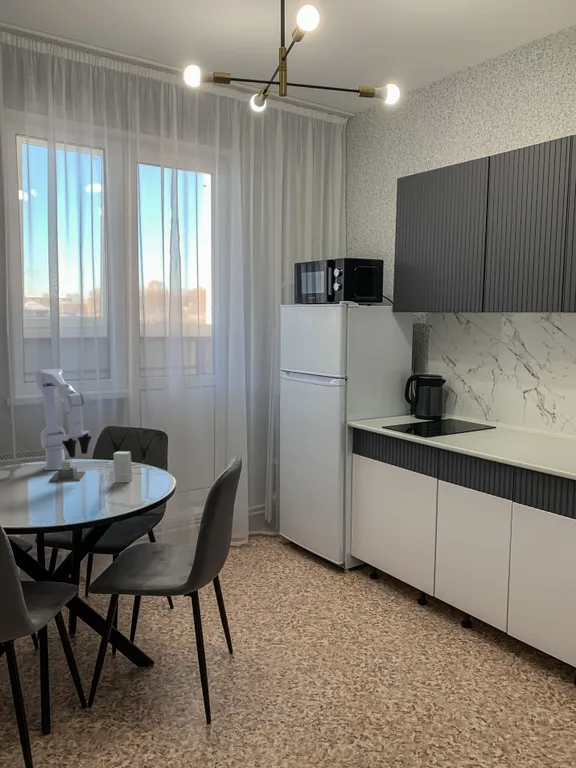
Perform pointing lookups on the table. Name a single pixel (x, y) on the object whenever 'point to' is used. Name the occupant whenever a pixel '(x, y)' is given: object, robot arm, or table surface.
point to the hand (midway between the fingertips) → (78, 455)
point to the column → (66, 465)
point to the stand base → (67, 475)
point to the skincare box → (122, 466)
